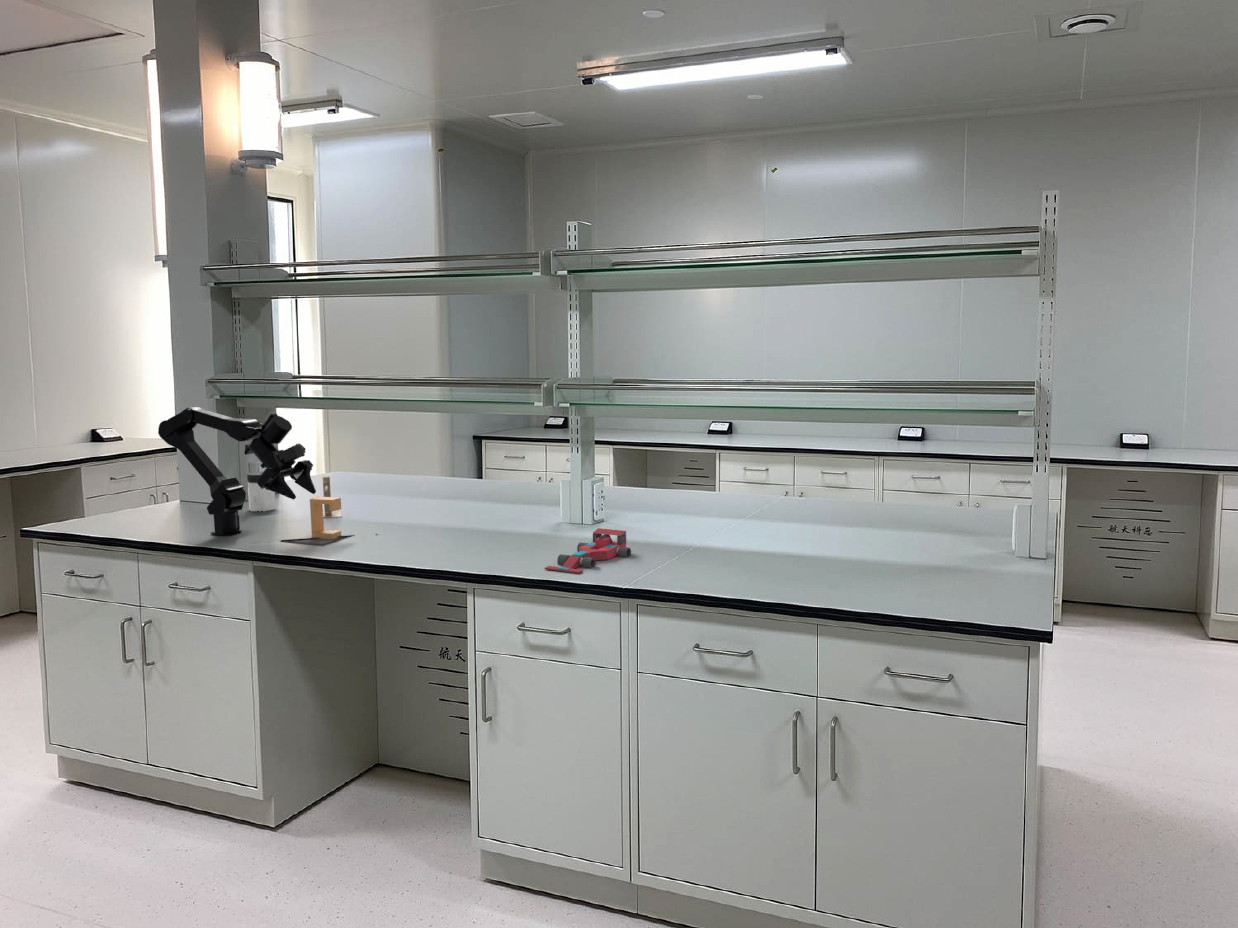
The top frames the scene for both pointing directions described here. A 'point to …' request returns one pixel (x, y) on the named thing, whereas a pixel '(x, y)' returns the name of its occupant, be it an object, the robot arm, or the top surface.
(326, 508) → the hook stand
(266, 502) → the jar
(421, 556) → the top surface
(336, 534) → the c hook
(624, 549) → the race car
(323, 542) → the rubber mat
